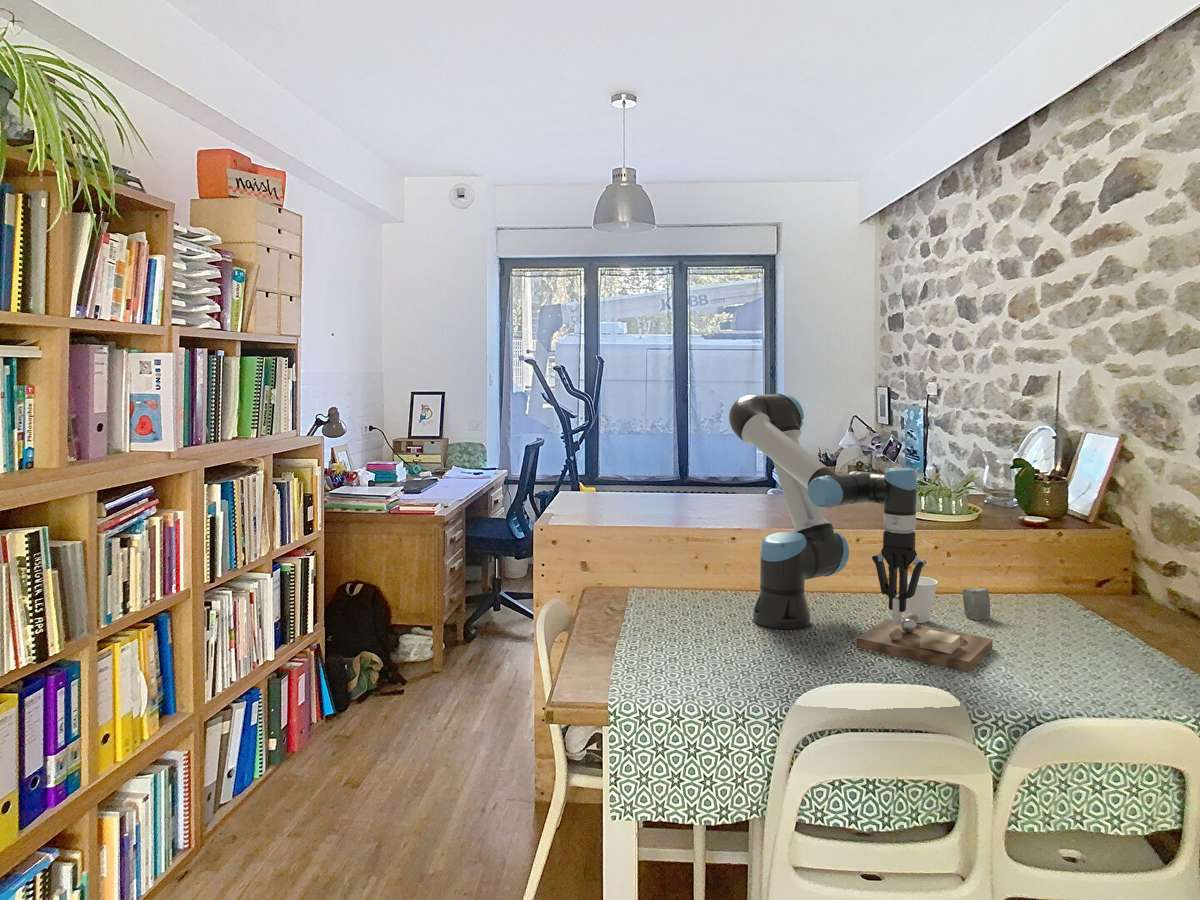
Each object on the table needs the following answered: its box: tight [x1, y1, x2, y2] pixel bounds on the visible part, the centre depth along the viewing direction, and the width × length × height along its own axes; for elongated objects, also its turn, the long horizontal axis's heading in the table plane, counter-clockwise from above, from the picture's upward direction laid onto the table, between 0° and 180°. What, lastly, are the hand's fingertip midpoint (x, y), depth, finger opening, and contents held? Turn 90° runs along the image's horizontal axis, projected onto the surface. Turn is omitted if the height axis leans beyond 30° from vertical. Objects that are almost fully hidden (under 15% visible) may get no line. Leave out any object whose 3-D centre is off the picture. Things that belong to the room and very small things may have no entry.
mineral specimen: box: [962, 587, 991, 622], centre depth 229 cm, size 7×9×8 cm
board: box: [855, 618, 993, 673], centre depth 203 cm, size 26×20×2 cm
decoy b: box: [906, 613, 919, 625], centre depth 213 cm, size 3×3×3 cm
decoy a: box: [889, 628, 902, 641], centre depth 201 cm, size 3×3×3 cm
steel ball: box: [901, 618, 916, 633], centre depth 207 cm, size 4×4×4 cm
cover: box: [920, 630, 960, 654], centre depth 196 cm, size 7×7×2 cm
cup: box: [903, 575, 939, 624], centre depth 225 cm, size 10×10×11 cm
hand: (897, 623), depth 209 cm, fingers closed
